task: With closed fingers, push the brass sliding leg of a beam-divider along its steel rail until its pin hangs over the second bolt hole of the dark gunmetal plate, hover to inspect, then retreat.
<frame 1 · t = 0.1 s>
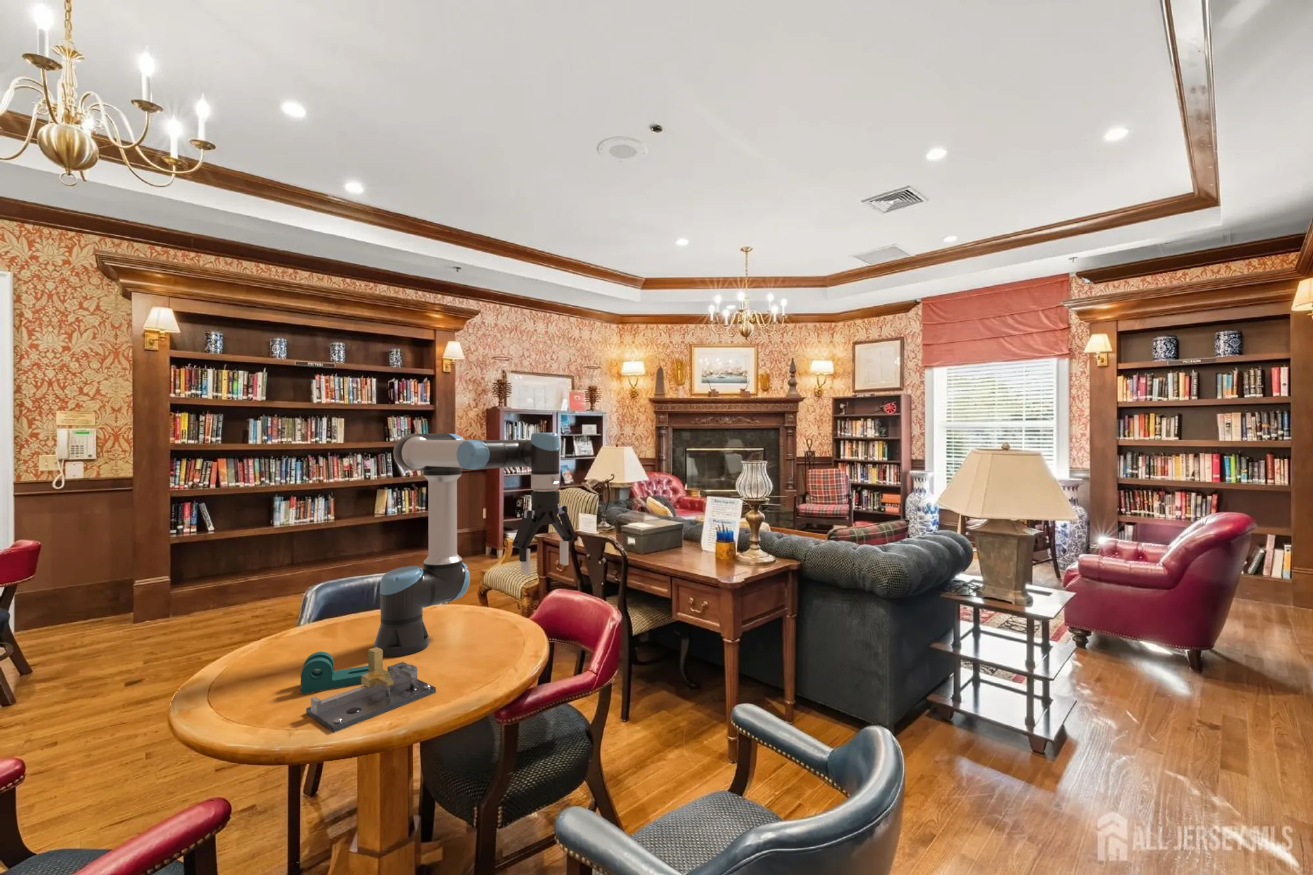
hand: (545, 569, 153), 28 cm above the table, fingers open, 13 cm apart
bracket: (342, 683, 148), on the table
divider rail: (367, 699, 138), resting on bolt plate
sliding leg: (380, 671, 138), point 7 cm above the table, slide at 0.0 cm
bolt plate: (373, 702, 136), on the table
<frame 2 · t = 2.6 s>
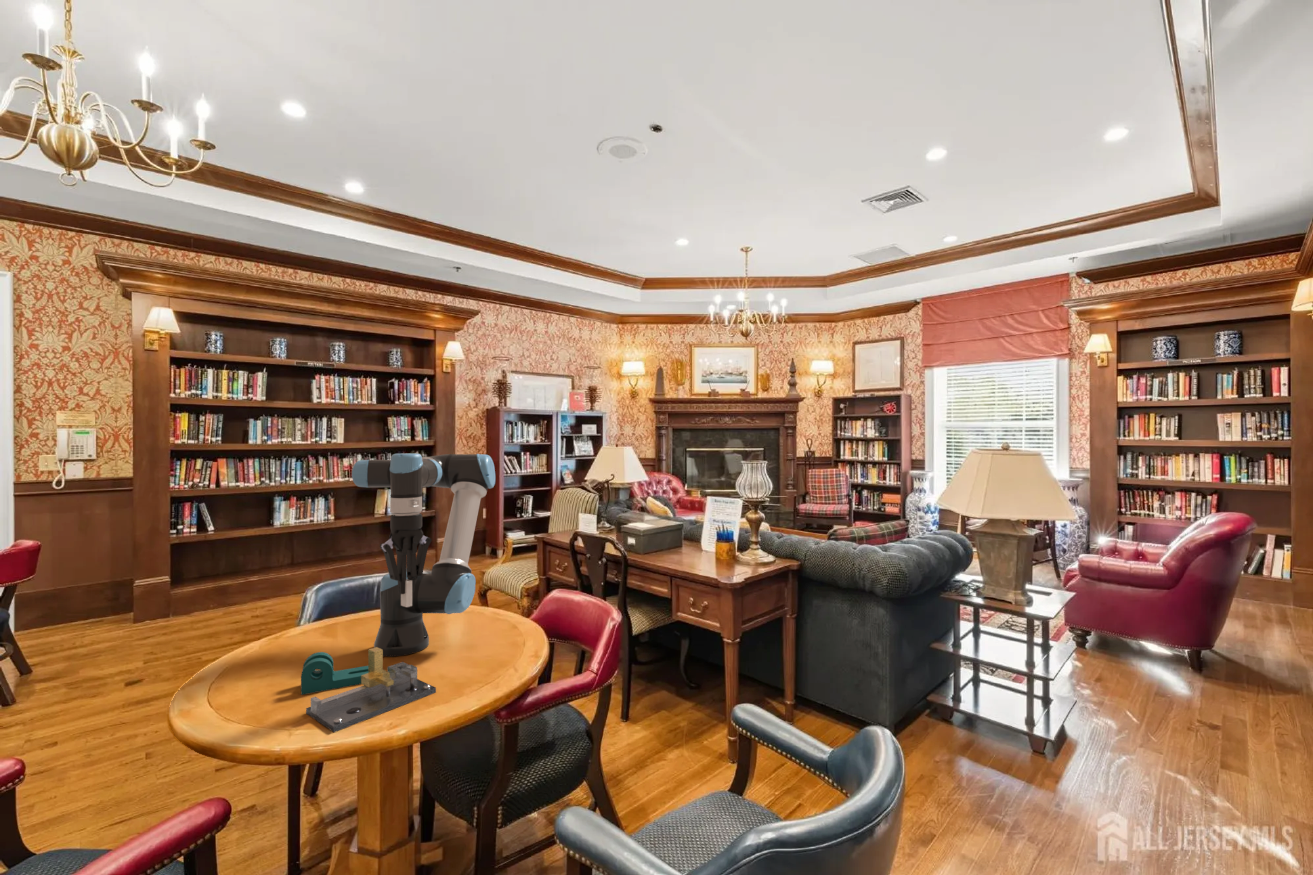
hand: (406, 605, 146), 20 cm above the table, fingers closed
nothing on the table moved.
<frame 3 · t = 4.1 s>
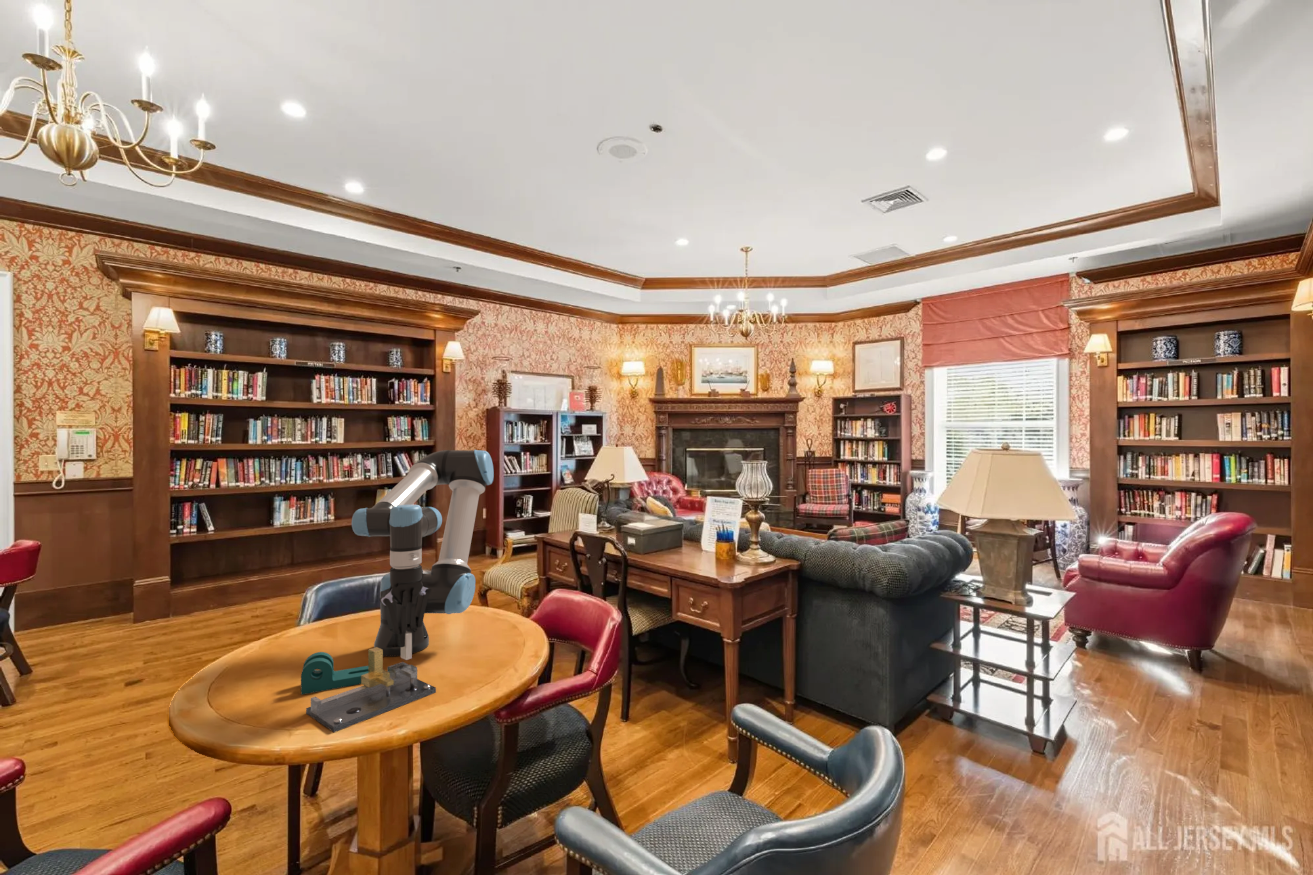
hand: (406, 657, 146), 7 cm above the table, fingers closed
nothing on the table moved.
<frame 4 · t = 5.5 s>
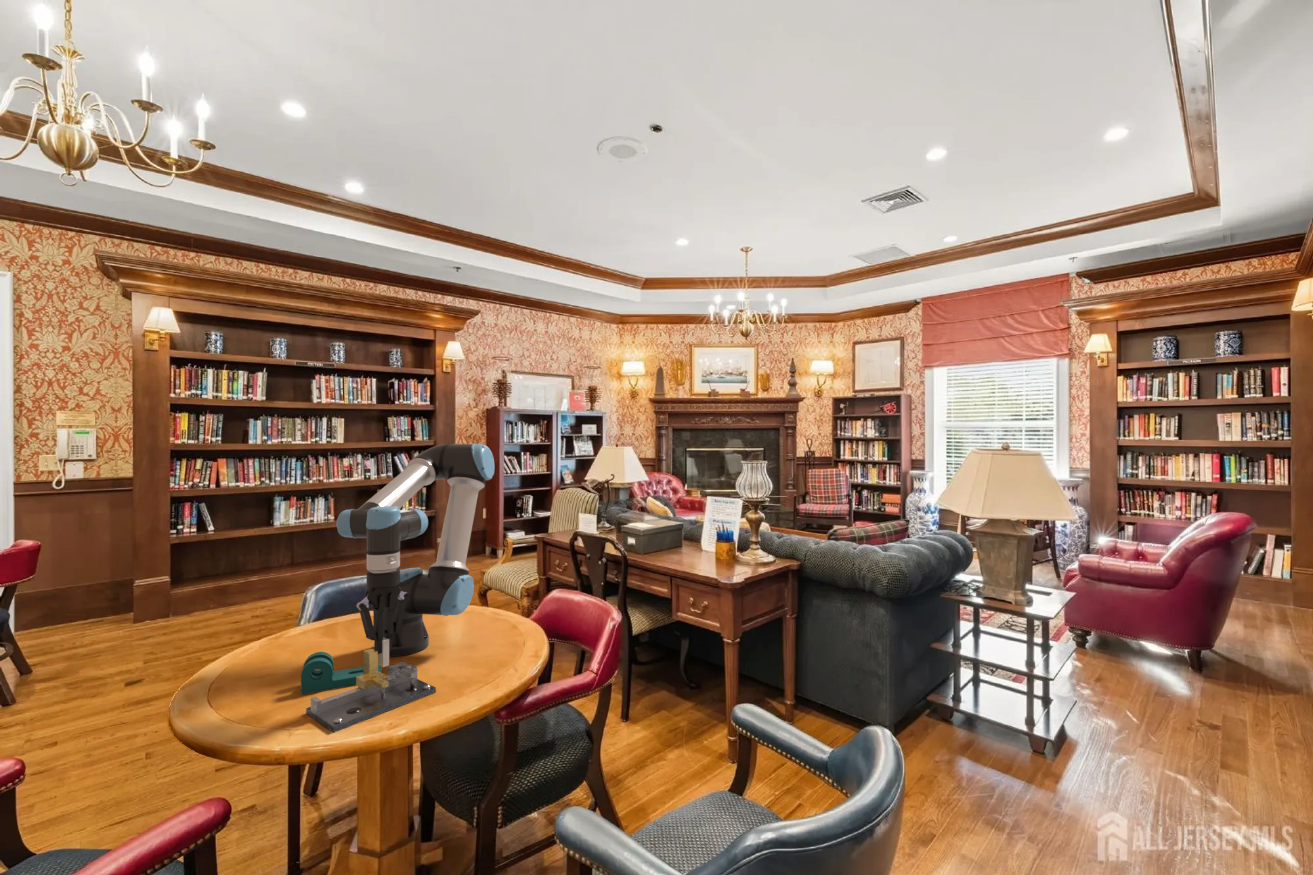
hand: (383, 664, 141), 7 cm above the table, fingers closed
sliding leg: (375, 673, 137), point 6 cm above the table, slide at 1.2 cm, touching gripper
everything else where it was.
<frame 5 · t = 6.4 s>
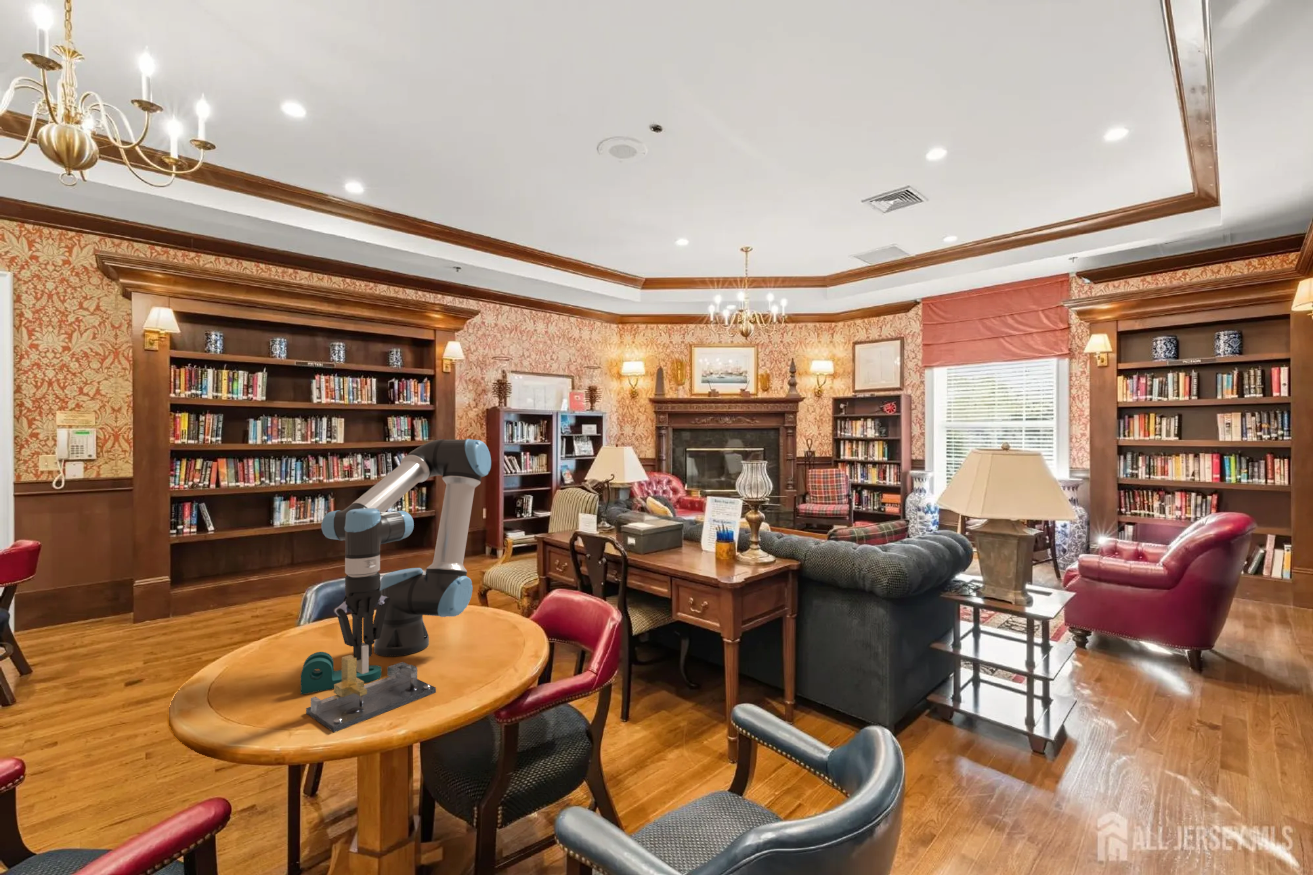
hand: (362, 671, 137), 7 cm above the table, fingers closed
sliding leg: (354, 680, 133), point 6 cm above the table, slide at 6.3 cm, touching gripper
everything else where it was.
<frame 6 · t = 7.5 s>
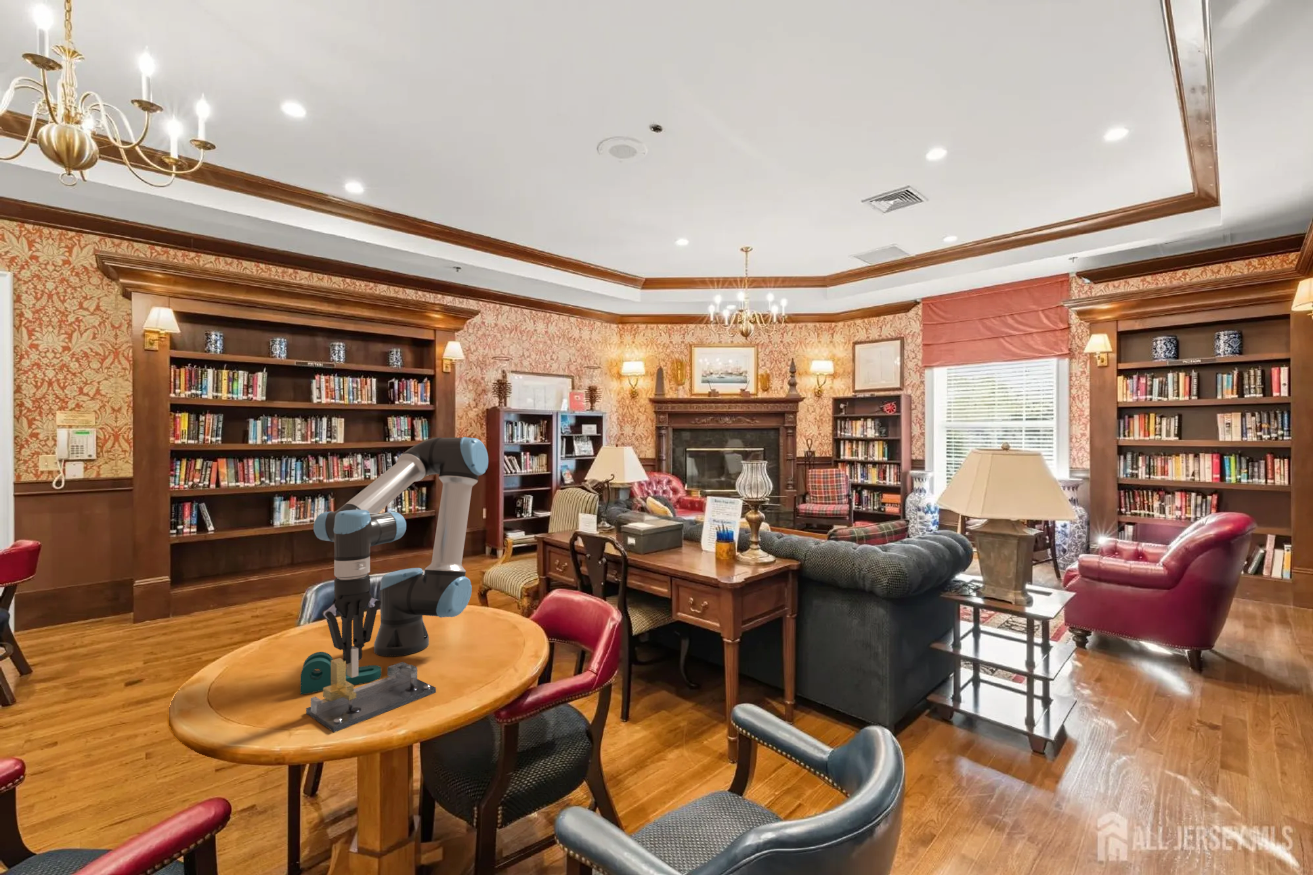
hand: (352, 675, 135), 7 cm above the table, fingers closed
sliding leg: (343, 684, 131), point 6 cm above the table, slide at 8.7 cm, touching gripper
everything else where it was.
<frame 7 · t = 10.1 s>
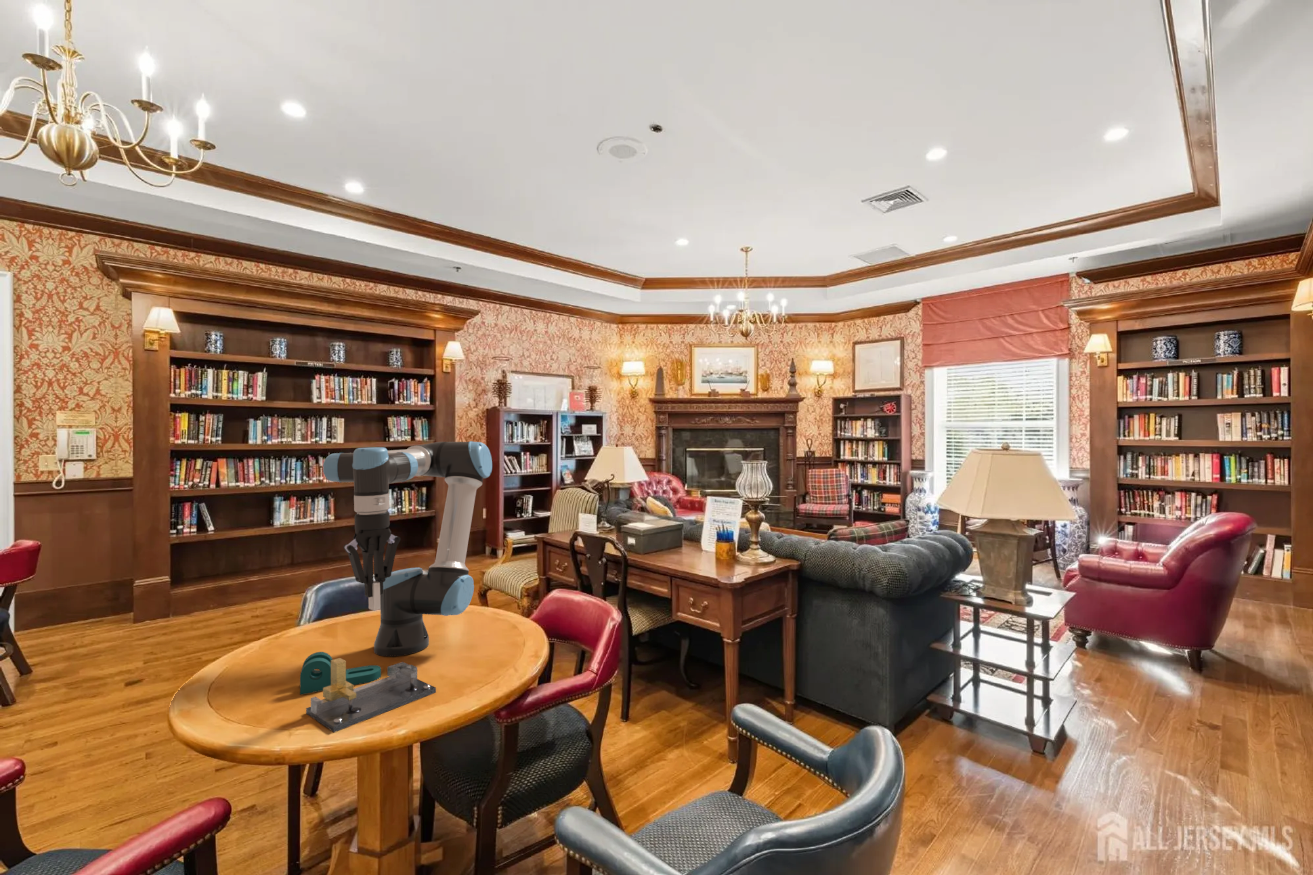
hand: (374, 608, 137), 22 cm above the table, fingers closed
sliding leg: (343, 684, 131), point 7 cm above the table, slide at 8.7 cm
everything else where it was.
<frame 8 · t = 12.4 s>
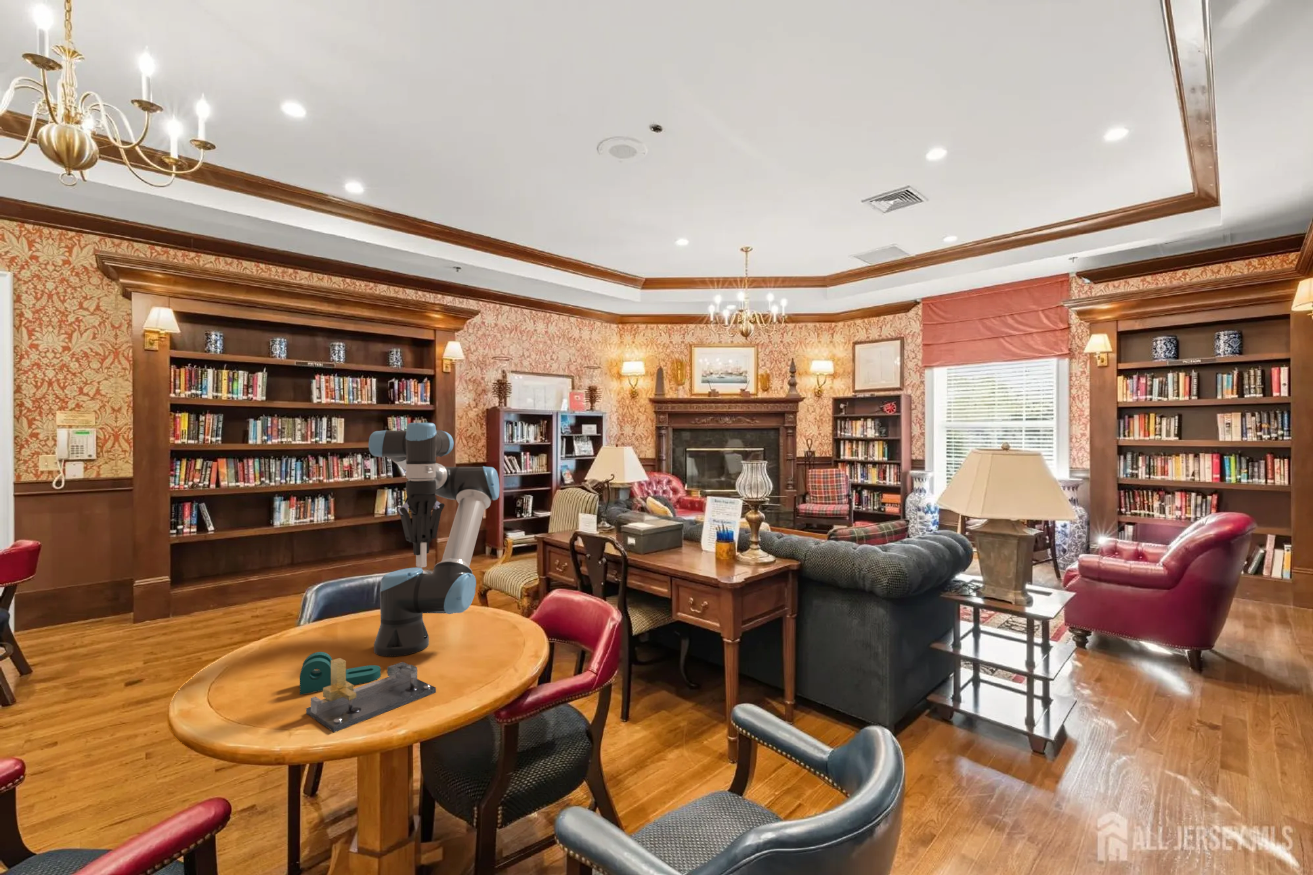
hand: (421, 566, 154), 28 cm above the table, fingers closed
nothing on the table moved.
at the end: sliding leg slide at 8.7 cm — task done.
